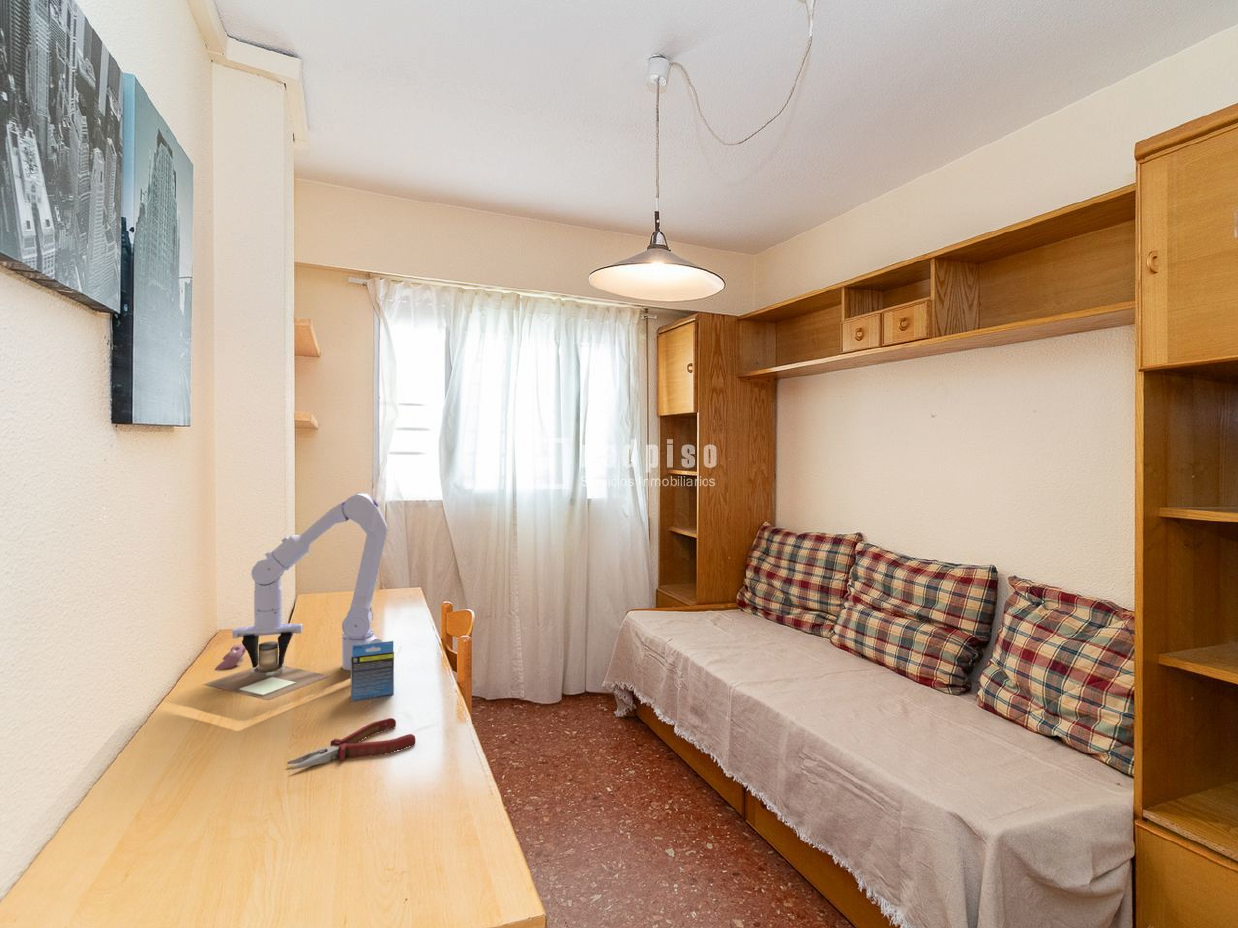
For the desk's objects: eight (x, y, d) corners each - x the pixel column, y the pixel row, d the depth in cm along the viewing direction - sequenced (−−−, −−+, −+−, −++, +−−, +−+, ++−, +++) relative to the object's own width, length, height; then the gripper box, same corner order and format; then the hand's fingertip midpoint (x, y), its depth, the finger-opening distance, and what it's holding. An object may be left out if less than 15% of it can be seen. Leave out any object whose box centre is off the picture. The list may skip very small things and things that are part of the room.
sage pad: (296, 683, 139) (296, 682, 139) (263, 696, 132) (263, 694, 132) (272, 678, 143) (272, 676, 143) (238, 690, 135) (238, 688, 135)
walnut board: (331, 681, 145) (331, 675, 145) (268, 706, 130) (268, 699, 130) (267, 668, 154) (267, 662, 154) (202, 690, 139) (202, 684, 139)
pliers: (280, 760, 108) (280, 745, 108) (393, 727, 122) (393, 714, 122) (298, 786, 100) (298, 771, 100) (417, 748, 113) (417, 734, 113)
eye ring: (291, 670, 148) (291, 665, 148) (264, 680, 141) (264, 674, 141) (271, 666, 151) (271, 661, 151) (244, 675, 144) (244, 670, 144)
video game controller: (231, 680, 149) (246, 653, 151) (211, 674, 148) (226, 647, 149) (239, 667, 159) (253, 642, 160) (220, 661, 157) (235, 636, 158)
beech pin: (281, 671, 147) (281, 642, 147) (266, 676, 143) (266, 647, 143) (270, 669, 149) (270, 640, 149) (254, 674, 145) (254, 645, 145)
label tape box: (392, 689, 140) (392, 635, 140) (394, 695, 137) (394, 640, 137) (350, 695, 137) (350, 640, 137) (351, 701, 133) (351, 645, 133)
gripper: (305, 602, 152) (305, 656, 152) (238, 606, 148) (238, 662, 148) (299, 609, 145) (299, 666, 145) (229, 613, 141) (229, 672, 141)
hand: (268, 665), depth 146 cm, fingers open, 5 cm apart
